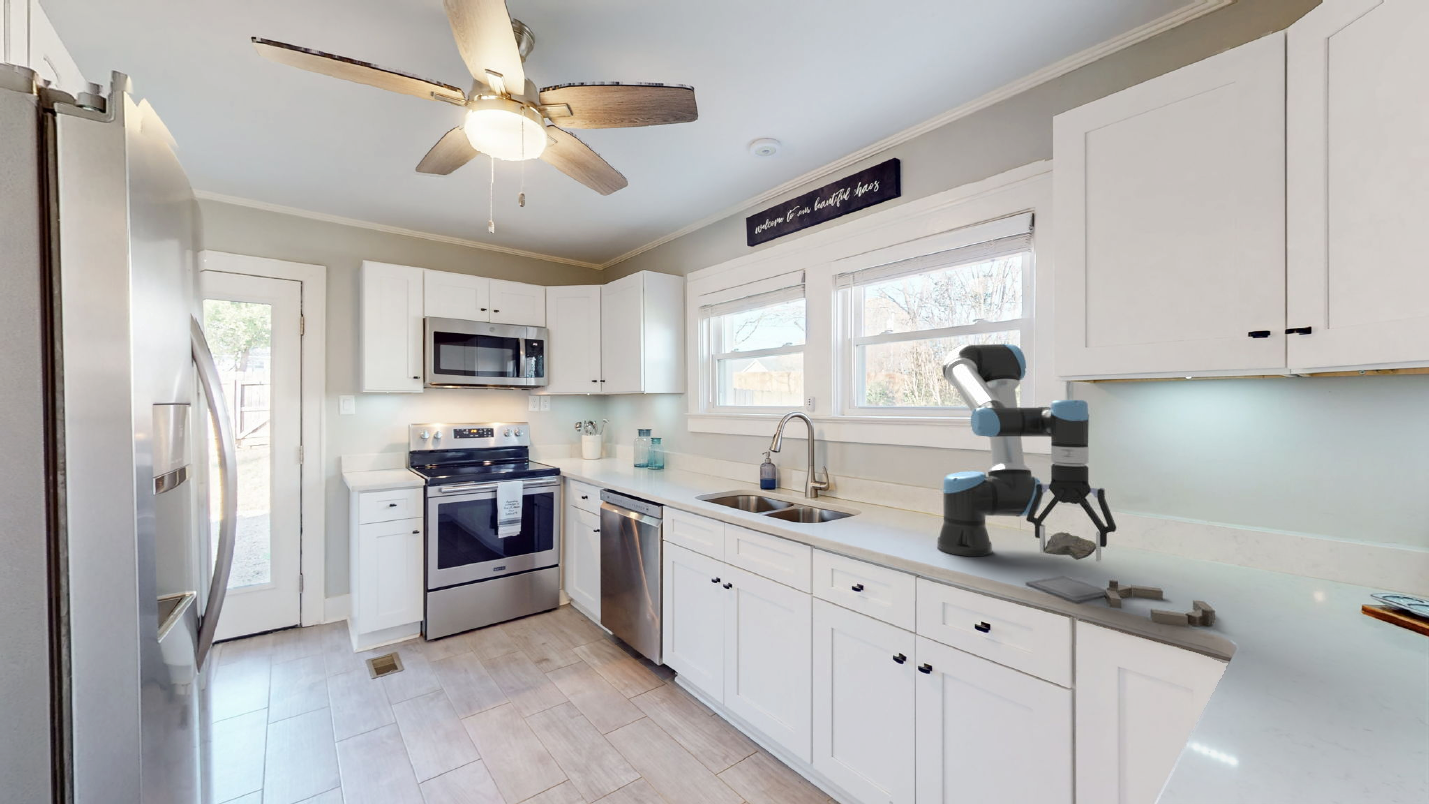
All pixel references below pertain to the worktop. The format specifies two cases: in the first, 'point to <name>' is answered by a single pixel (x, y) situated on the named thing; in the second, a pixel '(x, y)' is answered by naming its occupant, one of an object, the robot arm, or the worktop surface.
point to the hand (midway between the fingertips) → (1069, 555)
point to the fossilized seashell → (1069, 546)
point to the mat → (1068, 589)
